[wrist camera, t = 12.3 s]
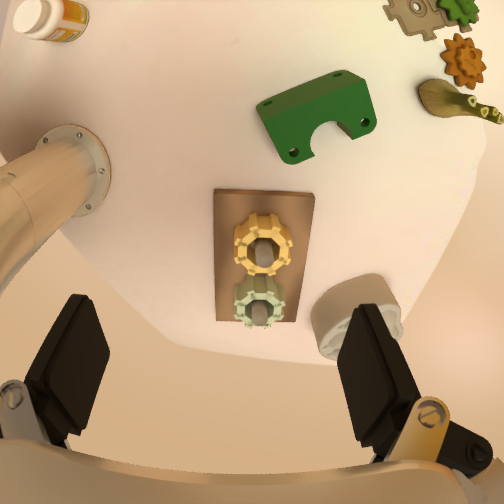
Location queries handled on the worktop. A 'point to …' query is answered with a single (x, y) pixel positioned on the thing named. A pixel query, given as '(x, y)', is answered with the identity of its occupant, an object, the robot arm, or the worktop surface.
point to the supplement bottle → (51, 20)
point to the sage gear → (258, 290)
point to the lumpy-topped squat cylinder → (341, 308)
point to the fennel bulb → (454, 102)
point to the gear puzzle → (438, 16)
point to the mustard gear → (265, 229)
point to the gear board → (239, 215)
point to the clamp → (317, 112)
